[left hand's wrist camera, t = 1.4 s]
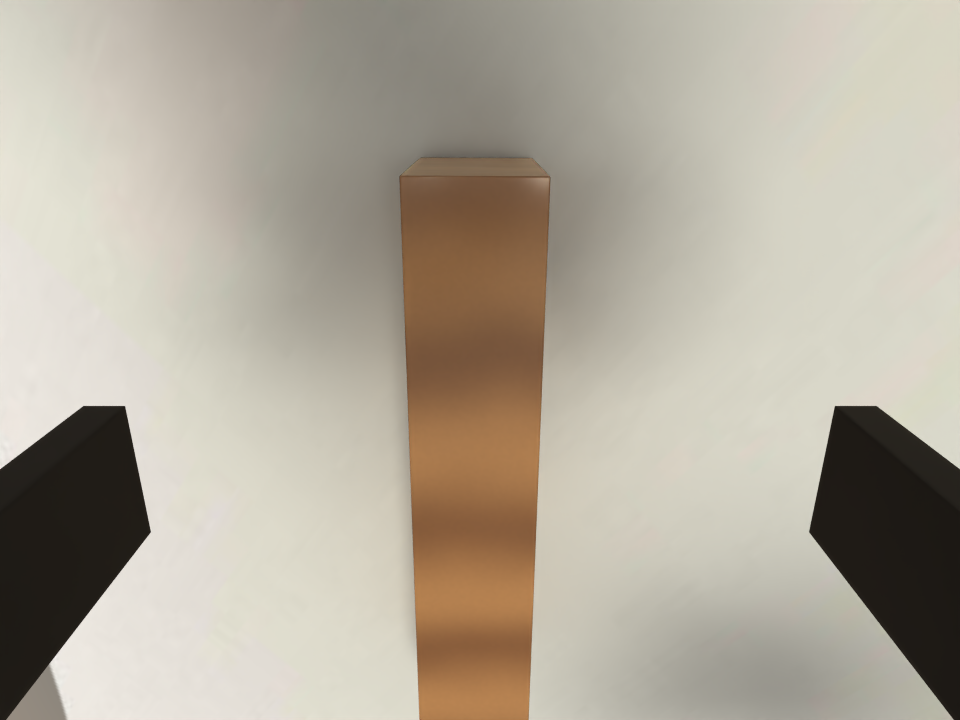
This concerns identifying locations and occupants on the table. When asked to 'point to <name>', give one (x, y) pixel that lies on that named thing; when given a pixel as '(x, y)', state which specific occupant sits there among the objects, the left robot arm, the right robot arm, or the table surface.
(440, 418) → the bar
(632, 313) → the table surface
